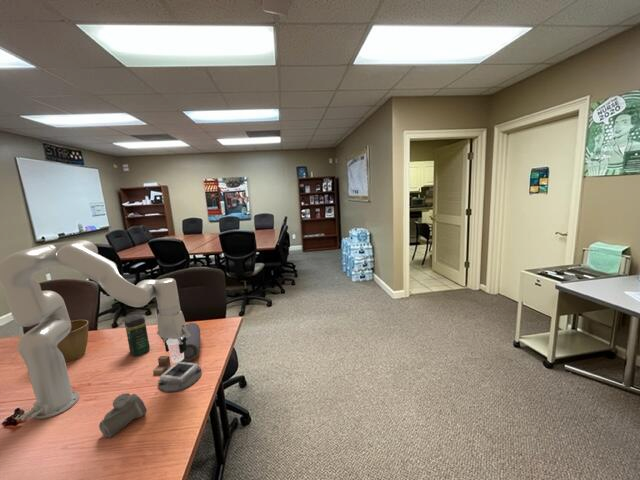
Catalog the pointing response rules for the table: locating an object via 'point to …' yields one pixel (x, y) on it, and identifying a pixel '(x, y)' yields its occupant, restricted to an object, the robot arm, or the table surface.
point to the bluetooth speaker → (192, 342)
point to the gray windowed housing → (179, 377)
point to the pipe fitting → (122, 413)
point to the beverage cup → (175, 350)
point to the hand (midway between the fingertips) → (176, 350)
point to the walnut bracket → (162, 365)
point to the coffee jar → (137, 334)
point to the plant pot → (75, 341)
